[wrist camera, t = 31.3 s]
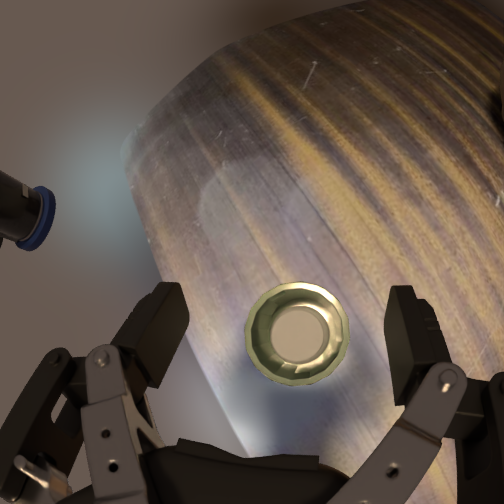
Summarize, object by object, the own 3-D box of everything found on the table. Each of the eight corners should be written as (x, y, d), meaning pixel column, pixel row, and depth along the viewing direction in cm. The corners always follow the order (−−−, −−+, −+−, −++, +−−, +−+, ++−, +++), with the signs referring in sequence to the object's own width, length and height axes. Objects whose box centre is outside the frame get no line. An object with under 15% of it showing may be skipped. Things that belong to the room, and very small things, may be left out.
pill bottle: (280, 308, 27) (265, 300, 19) (328, 310, 26) (333, 303, 18) (276, 355, 26) (260, 366, 18) (325, 358, 25) (328, 371, 17)
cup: (286, 381, 25) (273, 402, 18) (252, 317, 28) (227, 312, 20) (353, 346, 25) (367, 353, 17) (317, 281, 27) (317, 263, 19)
